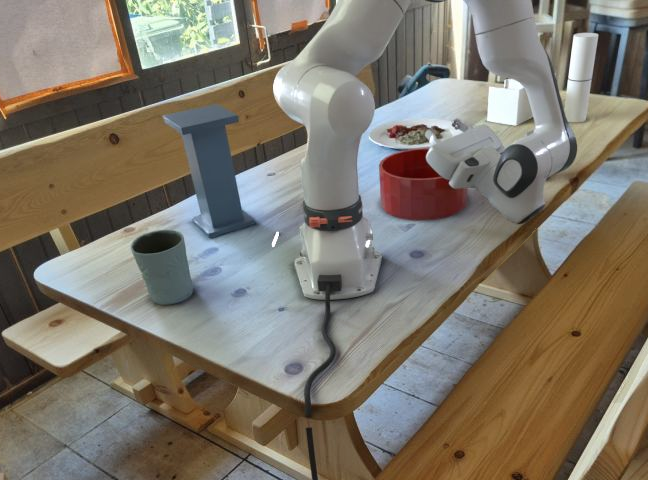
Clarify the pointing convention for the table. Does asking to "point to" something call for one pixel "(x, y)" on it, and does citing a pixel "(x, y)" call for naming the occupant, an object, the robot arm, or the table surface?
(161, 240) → the green cup
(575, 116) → the cylindrical container
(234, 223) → the stand
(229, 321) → the table surface
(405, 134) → the plated food
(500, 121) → the storage container
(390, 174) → the pot
